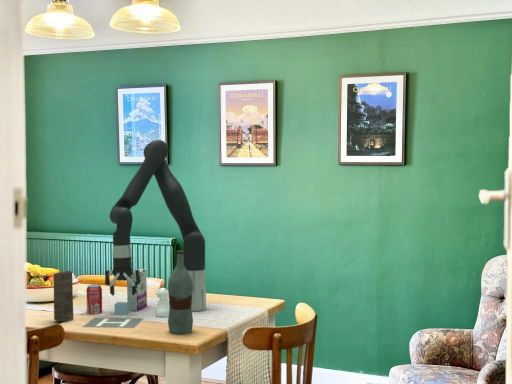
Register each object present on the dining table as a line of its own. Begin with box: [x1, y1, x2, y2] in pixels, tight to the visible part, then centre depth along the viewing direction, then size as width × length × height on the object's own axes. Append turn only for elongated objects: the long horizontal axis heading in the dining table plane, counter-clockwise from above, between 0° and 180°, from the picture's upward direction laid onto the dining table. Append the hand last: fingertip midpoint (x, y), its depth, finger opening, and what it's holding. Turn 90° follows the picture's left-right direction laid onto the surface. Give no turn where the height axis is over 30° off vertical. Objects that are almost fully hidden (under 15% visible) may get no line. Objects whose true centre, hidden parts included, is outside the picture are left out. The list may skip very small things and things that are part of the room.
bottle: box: [167, 250, 194, 335], centre depth 244 cm, size 9×9×30 cm
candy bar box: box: [126, 268, 148, 312], centre depth 285 cm, size 11×5×16 cm, turn 168°
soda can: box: [86, 284, 103, 315], centre depth 274 cm, size 6×6×12 cm
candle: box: [52, 270, 74, 322], centre depth 261 cm, size 8×7×20 cm
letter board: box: [82, 317, 145, 329], centre depth 257 cm, size 20×16×1 cm
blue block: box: [114, 301, 131, 316], centre depth 273 cm, size 5×5×5 cm
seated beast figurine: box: [154, 287, 170, 318], centre depth 269 cm, size 10×9×12 cm
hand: (123, 295), depth 272 cm, fingers open, 8 cm apart
